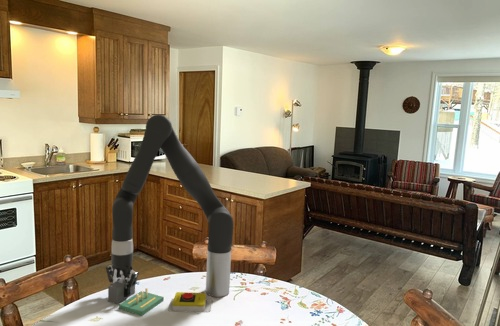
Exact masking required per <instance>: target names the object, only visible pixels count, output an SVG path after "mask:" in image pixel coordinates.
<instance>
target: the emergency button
mask: <svg viewBox="0 0 500 326" xmlns="http://www.w3.org/2000/svg"><path fill="white" fill-rule="evenodd" d="M212 301H213V300H212V299H211V298H207V293H206V292H186V291H185V292H183V291H181V292H180V291H179V292H176V293H175V294H174V296H173V298H171V300H170V302H169V306H168V307H167V308H168V309H167V311H168V312H180V313H184V312H185V313H193V312H194V313H210V312H211V311H212V310H211V309H212V303H213V302H212Z"/></svg>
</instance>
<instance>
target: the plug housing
mask: <svg viewBox="0 0 500 326" xmlns="http://www.w3.org/2000/svg"><path fill="white" fill-rule="evenodd" d="M125 279H126V278H125ZM127 284H128V282H127ZM107 288H108V290H107V292H108V293H107V295H108V297H107V302H108V303H112V304H116V305H119V304H120V303H122V302H124V301H125V300H127V299H129V298H130V297H132V295H133V296H134V295H135V294H136V284H135V285H134V286H132V287H131V288H130V295H129V296H128V297H126V298H125V297H124V288H125V287H124V283H123V282H122V278H121V279H120V280H118V281H116V282H114V283H112V282H111V284H109V285H108V286H107Z"/></svg>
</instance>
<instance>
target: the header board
mask: <svg viewBox="0 0 500 326" xmlns="http://www.w3.org/2000/svg"><path fill="white" fill-rule="evenodd" d="M148 290H149V288H148V287H146V288H145V291H143V290H140V292H137V293H135V294H133V296H130V297H128V298H127V299H125V300H123V301H122V302H120V303H118V305H119V307H118V309H119V310H121V311H125V312H128V313H132V314H135V315H138V316H141V317H143V316H145V315H146V314H147V313H149V312H150V311H151V310H153V309H154V308H155V307H157V306H158V305H160V304H161V303H162V302H164V296H161V295H158V294H155V293H154V294H153V293H150V292H149V291H148Z"/></svg>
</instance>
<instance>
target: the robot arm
mask: <svg viewBox="0 0 500 326" xmlns="http://www.w3.org/2000/svg"><path fill="white" fill-rule="evenodd" d="M160 149H161V151H162V152H163V153H164V155H165V156H166V159H167V161H168V163H169V165H170V167H171V169H172V171H173V172H174V175H175V176H176V178H177V180H178V181H179V182H180V184H181V185H182V187H183V189H185V191H186V192H187V193H188V194H189V196H191V197H192V198H193V199H194V200H195V202H197V204H198V205H199V206H200V208H201V210H202V211H203V214H204V215H205V218H206V220H207V221H208V238H207V239H208V240H207V247H206V248H207V250H206V251H207V253H206V254H207V256H206V277H205V278H206V280H205V293H206V295H208V296H209V297H218V298H220V297H226V296H227V295H229V294H230V286H231V285H230V284H231V282H230V281H231V261H232V258H231V257H232V246H233V239H234V238H233V237H234V219H233V216H232V213H231V212H230V211H229V210H228V208H226V206H225V205H224V204H223V203H222V201H221V199H219V198H218V196H217V195H216V194H215V191H214V190H213V188H212V186H211V183H210V182H209V179H208V178H207V176H206V175H205V173H204V171H203V169H202V168H201V166H200V165H199V163H198V162H197V161H196V160H195V158H194V157H193V156H192V154H191V153H190V152H189V151H188V150H187V149H186V147H184V145H183V144H182V142H181V141H180V139H179V137H178V135H177V134H176V132H175V130H174V128H173V125H172V121H171V120H170V119H169V117H167V116H165V115H163V114H155V115H152V116H150V117H149V118H148V120H147V121H146V124H145V130H144V134H143V139H142V141H141V145H140V146H139V149H138V151H137V154H136V155H135V156H134V159H133V160H132V163H131V165H130V166H129V168H128V171H127V173H126V175H125V177H124V179H123V181H122V185H121V187H120V189H119V191H118V192H117V195H116V196H115V198H114V200H113V201H112V202H113V203H112V207H111V209H112V212H111V213H112V214H111V215H112V236H111V237H112V239H111V256H110V257H111V264H109V265H107V266H106V267H105V270H106V274H107V279H108V282H109V283H111V284H112V283H114V282H116V281H118V280H120V279H122V282H123V283H124V287H125V288H124V297H125V298H126V297H128V296H129V295H130V288H131V287H132V286H134V285H135V286H136V284H137V280H138V277H139V275H140V272H139V271H135V270H134V269H133V266H132V264H133V262H134V240H133V234H134V232H133V231H134V230H133V229H134V228H133V217H134V216H133V215H134V205H135V202H136V200H137V197H138V195H139V194H140V193H141V191H142V190H143V188H144V185H145V183H146V181H147V178H148V177H149V174H150V172H151V168H152V166H153V164H154V161H155V158H156V156H157V155H158V152H159V151H160ZM125 278H126V279H125ZM127 282H128V284H127ZM129 297H130V296H129ZM129 297H128V298H129ZM126 299H127V298H126Z"/></svg>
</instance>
